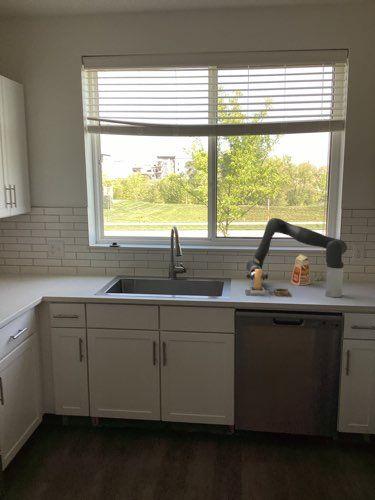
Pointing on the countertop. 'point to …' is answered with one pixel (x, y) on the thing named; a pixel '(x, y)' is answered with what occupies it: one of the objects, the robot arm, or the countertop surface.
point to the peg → (258, 279)
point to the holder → (281, 292)
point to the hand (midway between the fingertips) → (258, 278)
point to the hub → (257, 292)
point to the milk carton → (301, 271)
